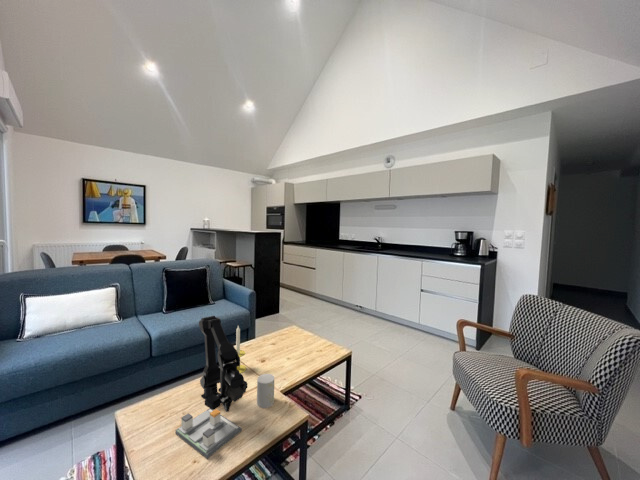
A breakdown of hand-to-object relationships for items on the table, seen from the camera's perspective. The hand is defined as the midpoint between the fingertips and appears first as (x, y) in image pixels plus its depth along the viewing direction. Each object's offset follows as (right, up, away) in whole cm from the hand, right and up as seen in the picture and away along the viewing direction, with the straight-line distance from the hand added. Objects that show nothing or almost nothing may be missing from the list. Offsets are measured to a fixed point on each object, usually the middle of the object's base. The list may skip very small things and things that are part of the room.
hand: (227, 411), depth 118 cm
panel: (-5, -4, -8) cm, 10 cm away
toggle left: (-14, -1, -8) cm, 16 cm away
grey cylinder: (+15, -4, +12) cm, 19 cm away
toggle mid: (-3, -1, -5) cm, 6 cm away
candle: (-8, -1, +40) cm, 41 cm away
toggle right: (-2, -2, -16) cm, 16 cm away
